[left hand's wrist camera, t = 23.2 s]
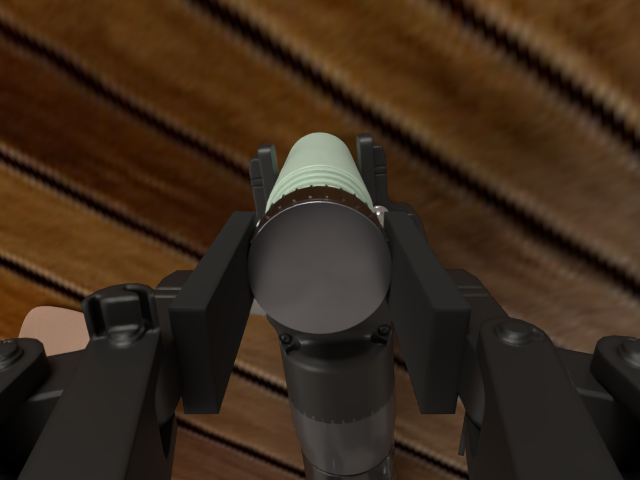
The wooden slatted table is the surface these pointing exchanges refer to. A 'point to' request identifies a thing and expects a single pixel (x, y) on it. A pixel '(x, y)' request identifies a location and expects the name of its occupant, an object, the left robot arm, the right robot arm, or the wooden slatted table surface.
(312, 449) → the right robot arm
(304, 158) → the bottle
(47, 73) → the wooden slatted table surface
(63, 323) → the anatomical model
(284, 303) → the cap
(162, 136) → the wooden slatted table surface
